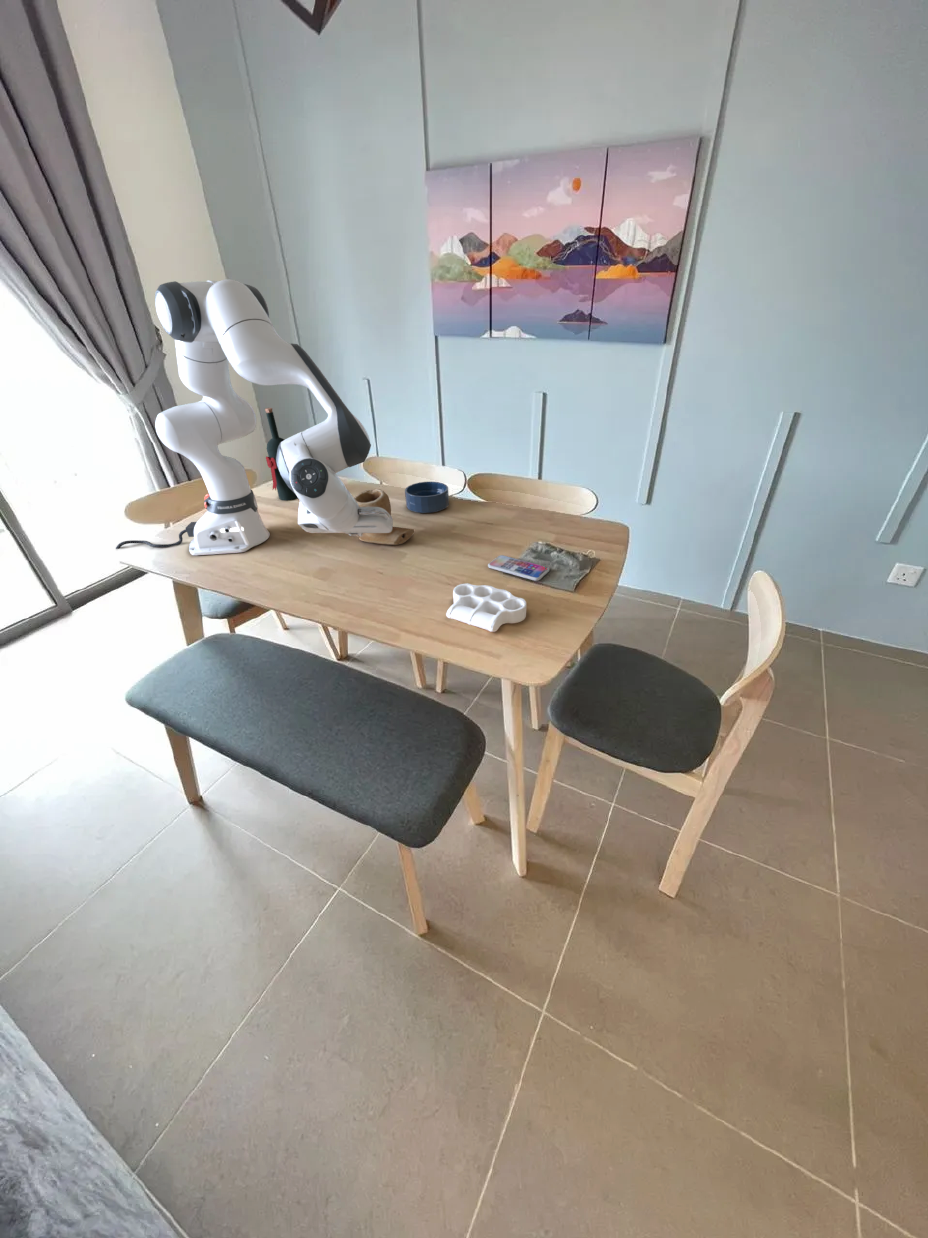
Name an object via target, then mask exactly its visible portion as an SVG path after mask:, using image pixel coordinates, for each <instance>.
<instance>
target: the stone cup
mask: <svg viewBox="0 0 928 1238" xmlns="http://www.w3.org/2000/svg"><path fill="white" fill-rule="evenodd" d="M353 497H354V499H355V500H356V502H357V503H358V505H359V507H380V508H383V509H385V510H386V511H387V512H388V513H389V514H390V515H391V516H392V506H391V500H390V497H389V495H388V494H387V493H386V491H385V490H382V489H378V488H376V489H373V490H372V489H368V490H364V491H361V492H359V493H357V494H356V495H355V496H353ZM414 534H415V529H414V528H408V527H407V528H406V527H402V526H401V527H399V526H393V528H392V531H391V532H390V533H363V534H362V536H358V539H359V540H360V541H362V542H365V543H370V544H379V545H390V546H392V545H394V546H396V545H398V546H399V545H402V544H405V543H406V542H407V541H408V540H409V539H411V537H413V535H414Z"/></svg>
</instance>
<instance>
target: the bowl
mask: <svg viewBox="0 0 928 1238" xmlns="http://www.w3.org/2000/svg"><path fill="white" fill-rule="evenodd" d="M404 496H405V497H404V498H405V506H406V508H407V510H409V511H411V512H415V513H422V514H430V513H437V512H439V511H442V510H445V509H447V508H448V507H449V505H450V494H449V486H448V485H447V484H445V483H443V482H440V481H420V482H416V483H412V484H410V485H408V486H407V487H406V488H405V489H404Z"/></svg>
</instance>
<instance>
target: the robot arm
mask: <svg viewBox="0 0 928 1238" xmlns="http://www.w3.org/2000/svg"><path fill="white" fill-rule="evenodd" d="M154 303H155V304H154V305H155V311H156V314H157V315H156V316H157V318H158V320H159V322H160V324H161V327H162V329H164V331H165V332H166V334H167V335H168V336H170V338H172V339H173V340H174V347H175V355H176V363H177V371H178V372H177V373H178V377H179V379H180V381H181V382H182V384H183V385H184V386H185V387H186V388H187V389H188V390H189V391H191V392H193V393H195V394H197V395H199V396H202V398H201V400H199V401H195V402H190V403H189V402H188V403H185V404H180V405H174V406H172V407H169V408H167V409H165V410H163V411H161V412H158V414H157V416H156V417H155V421H154V422H155V424H154V427H155V428H154V429H155V432H156V435H157V437H158V439H159V440H160V442H161V443H162V444H163V445H164V446H165V447H166V448H168V449H169V450H171V451H172V452H174V453H178V454H180V455H182V456H183V457H185V458H186V459H188V460H189V461H190V462H191V463H192V464H193V465H194V466H195V467H196V469H197V470H198V471H199V474H200V475H201V478H202V479H203V482H204V484H205V486H206V487H205V488H206V490H207V492H208V493H206V494H205V496H204V498H203V499H204V501H203V503H204V504H203V505H204V509H206V511H205V512H204V513H203V515H202V516H201V517H199V519H198V520H196V521H190V523H189V524H188V525H187V526H185V529H183V530H181V531H180V532H179V534H178V541H176V542H174V543H167V544H165V543H159V544H158V543H152V542H150V541H148V540H132V539H131V540H124V541H121V542H119V543H118V544H117V545H116V546H115V550H118V549H121V547H122V546H124V545H128V544H146V545H147V546H149V547H153V548H170V547H174V546H179V545H181V544H182V543H183V535H184V534H186V533H187V536H188V537H189V538H193V539H192V540H191V541H190V543H189V545H188V551H189V554H191V555H192V556H209V555H210V556H211V555H222V554H223V555H224V554H238V553H245V552H247V551H249V550H250V549H251V548H253V547H256V546H258V545H260V544H262V543H264V542H266V541H267V540H268V539H269V538H270V532H269V530H268V528H266V525H265V524H264V521H263V519H262V518H261V515H260V512H259V506H258V501H257V499H256V495H255V493H254V491H253V489H252V488H251V486H250V482H249V478H248V475H247V472H246V468H245V466H244V465H243V464H242V462H240V461H239V460H238V459H236V458H234V457H231V456H226V455H224V454H223V455H222V453H221V451H220V450H219V447H218V446H219V445H222V444H226V443H229V442H233V441H237V440H241V439H242V438H245V437H247V436H249V435H250V434H252V433H253V432H255V430H256V428H257V416H256V413H255V410H254V408H253V406H252V405H251V404H250V403H249V402H248V401H247V400H246V399H245V398H243V397H242V396H240V395H239V394H237V392H235V389H234V388H233V386H232V382H231V375H230V366H231V367H232V369H233V370H234V371H235V373H236V374H237V375H238V376H239V377H241V378H243V380H246V381H247V382H250V383H253V384H255V385H259V386H269V387H271V386H281V385H296V386H297V385H298V386H303V387H304V388H306V389H308V390H309V391H310V392H311V393H312V395H313V396H314V397H315V399H316V400H317V402H318V403H319V404H320V406H321V407H322V409H323V410H324V411H325V412H326V414H327V417H326V418H325V419H324V420H323V421H320V422H319V423H317V424H315V425H313V426H311V427H308V428H306V429H304V430H302V431H299V432H298V433H295V434H293V435H291V436H288V437H287V438H285V439H284V441H282V442H280V444H279V446H278V450H277V455H276V463H277V467H278V469H279V472H280V474H281V476H282V478H283V480H284V481H285V483H286V484H287V486H288V487H289V488H290V489H291V490H292V491H293V492H294V493H295V494H296V495H297V497H298V500H299V502H298V509H297V511H298V512H297V525H298V526H299V527H300V528H301V529H302V530H304V532H306V533H310V534H346V535H348V536H349V537H359V536H362V534H363V533H390V532H391V531H392V528H393V527H394V524H393V523H394V518H393V517H392V514H391V515H390V514H389V513H388V512H387V511H386V510H385V509H383V508H380V507H359V505H358V503H357V502H356V500H355V499H354V497H355V496H353V494H352V493H351V492H350V490H348V488H347V487H346V485H345V483H344V482H343V480H342V479H341V478H340V477H339V475H337V473H340V472H342V471H344V470H345V469H347V468H348V469H349V468H351V467H354V466H357V465H360V464H363V463H365V461H366V459H368V456H369V454H370V451H371V447H372V444H371V439H370V435H369V434H368V431H367V430H366V428H365V426H364V425H363V424H362V422H361V421H360V420H359V419H358V418H357V416H355V415H354V414H353V413H352V411H350V410H349V408H348V407H347V405H346V404H345V402H344V401H343V400H342V398H341V397H340V395H339V394H338V393H337V391H336V390H335V389H334V387H333V386H332V384H331V382H329V381H328V379H327V378H326V376H325V374H324V373H323V372H322V371H321V369H320V368H319V367H318V366H317V364H316V363H315V362H314V361H313V359H312V358H311V357H310V355H309V354H308V353H307V351H306V350H305V349H303V347H302V346H300V345H299V344H298V343H291V342H287V341H286V340H285V339H283V338H282V337H281V336H280V335H279V334H278V332H277V331H276V328H275V327H274V325H273V322H272V321H271V319H270V313H269V308H268V304H267V301H266V299H265V297H264V296H263V295H262V293H261V291H260V290H258V288H256V287H255V286H253V285H250V284H248V283H247V284H246V283H243V282H241V281H239V280H237V279H236V280H235V279H231V278H226V279H221V280H206V281H201V280H200V281H184V282H178V281H174V280H173V281H168V282H164V283H161V284H159V285H158V286H157V289H156V291H155V293H154Z"/></svg>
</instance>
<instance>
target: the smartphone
mask: <svg viewBox="0 0 928 1238" xmlns="http://www.w3.org/2000/svg"><path fill="white" fill-rule="evenodd" d="M543 566H544V565H542V566H541V564H537V563H534V562H532V561H531V562H530V561H527V560H522V559H519V558H515V557H512V556H507V555H503V554H500V555H498V556H496V557H495V558H493V559H492V561H490V562H489V563H488V564H487V567H488V568H489V569H492V570H495V571H499V572H501V573H506V574H510V575H514V576H516V577H520V578H524V579H528V580H530V581H531V580H532V581H533V582H534V581H535V582H538V581H540V580H542V579H543V577H545V576H546V575H547V574H548V573H549V572H550V568H549V569H548V570H547V568H546V569H545V567H543ZM546 570H547V571H546Z"/></svg>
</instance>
